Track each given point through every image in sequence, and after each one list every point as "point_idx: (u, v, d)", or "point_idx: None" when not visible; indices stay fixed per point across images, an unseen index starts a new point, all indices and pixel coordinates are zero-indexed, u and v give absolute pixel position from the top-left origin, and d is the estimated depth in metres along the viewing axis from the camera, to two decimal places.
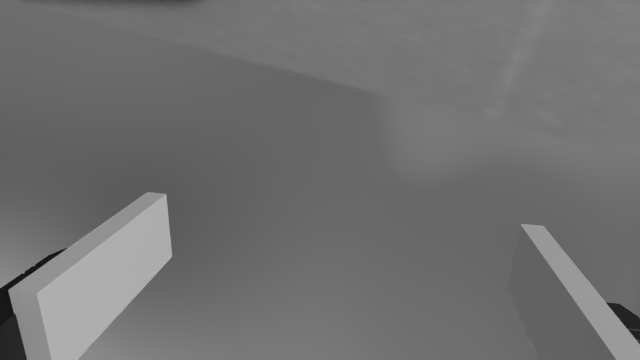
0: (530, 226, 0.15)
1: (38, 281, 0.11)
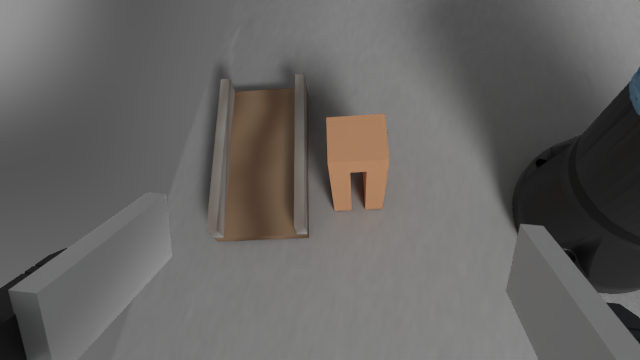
0: (530, 226, 0.15)
1: (38, 281, 0.11)
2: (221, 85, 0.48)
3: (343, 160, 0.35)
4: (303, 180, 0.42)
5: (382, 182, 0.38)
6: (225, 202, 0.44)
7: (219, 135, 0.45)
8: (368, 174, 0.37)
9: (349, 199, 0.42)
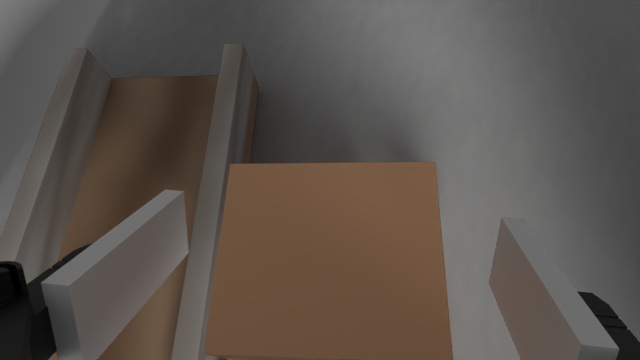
0: (511, 220, 0.15)
1: (68, 274, 0.11)
2: (67, 62, 0.23)
3: (266, 347, 0.09)
4: (203, 307, 0.16)
5: None
6: None
7: (33, 174, 0.20)
8: None
9: None
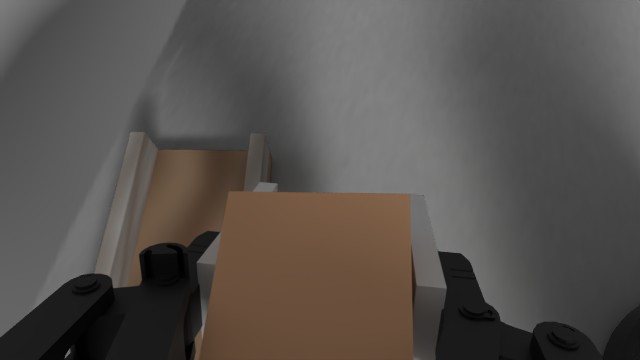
0: (412, 195, 0.17)
1: None
2: (129, 143, 0.30)
3: (252, 357, 0.10)
4: None
5: None
6: None
7: (111, 233, 0.27)
8: None
9: None
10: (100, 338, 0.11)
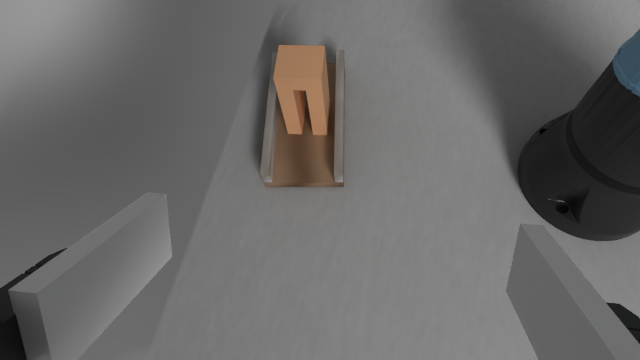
0: (530, 226, 0.15)
1: (38, 281, 0.11)
2: (272, 57, 0.56)
3: (285, 76, 0.44)
4: (342, 136, 0.50)
5: (320, 104, 0.48)
6: (274, 154, 0.53)
7: (271, 97, 0.54)
8: (307, 93, 0.46)
9: (297, 121, 0.51)
10: None
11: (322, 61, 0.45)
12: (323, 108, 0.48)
